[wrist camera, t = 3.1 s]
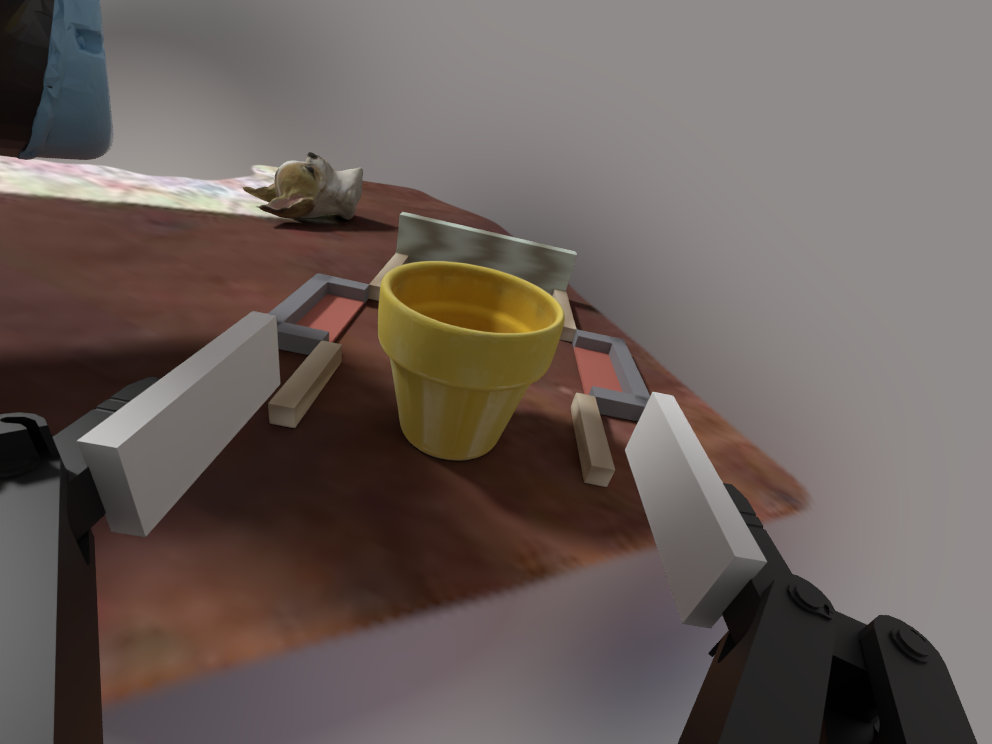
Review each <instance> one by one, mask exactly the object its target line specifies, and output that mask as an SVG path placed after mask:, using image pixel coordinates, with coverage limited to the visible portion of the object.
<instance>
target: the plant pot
mask: <svg viewBox="0 0 992 744" xmlns="http://www.w3.org/2000/svg"><path fill="white" fill-rule="evenodd" d="M564 321H565V315H564V311H563V308H562V306H561V305H560V304H559V302H558V301H557V300H556V299H555V298H554V297H552V296H551V295H550V294H549V293H547V292H546V291H544V290H543V289H541V288H540V287H538V286H536V285H534V284H532V283H530V282H528V281H526V280H523V279H521V278H518V277H516V276H513V275H511V274H508V273H504V272H501V271H498V270H495V269H491V268H486V267H482V266H477V265H472V264H466V263H458V262H447V261H423V262H414V263H408V264H404V265H401V266H398V267H395V268H394V269H392V270H390V271H389V272H388V273H386V274H385V276H384V277H383V279H382V281H381V285H380V296H379V310H378V337H379V341H380V344H381V346H382V348H383V350H384V351H385V353H386V354H387V355H388V356H389V357H390V361H391V367H392V374H393V380H394V386H395V393H396V399H397V405H398V413H399V420H400V425H401V429H402V431H403V433H404V435H405V437H406V438H407V439H408V440H409V442H410V443H411V444H412V445H414V446H415V447H416V448H418V449H419V450H420V451H422V452H424V453H426V454H428V455H431V456H434V457H437V458H441V459H446V460H469V459H474V458H477V457H480V456H482V455H484V454H486V453H488V452H489V451H490V450H491V449H492V448H493V447H494V446H495V445H496V443H497V441H498V440H499V438H500V436H501V434H502V433H503V431H504V429H505V427H506V425H507V424H508V422H509V420H510V418H511V416H512V415H513V413H514V411H515V409H516V408H517V406H518V404H519V402H520V401H521V399H522V397H523V396H524V394H525V392H526V390H527V389H528V387H529V385H530V384H531V383H533V382H535V381H537V380H538V379H540V378H541V377H542V376H543V375H544V374H545V373H546V371H547V370H548V368H549V366H550V364H551V362H552V359H553V357H554V354H555V351H556V348H557V345H558V342H559V339H560V336H561V333H562V330H563V326H564Z"/></svg>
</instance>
